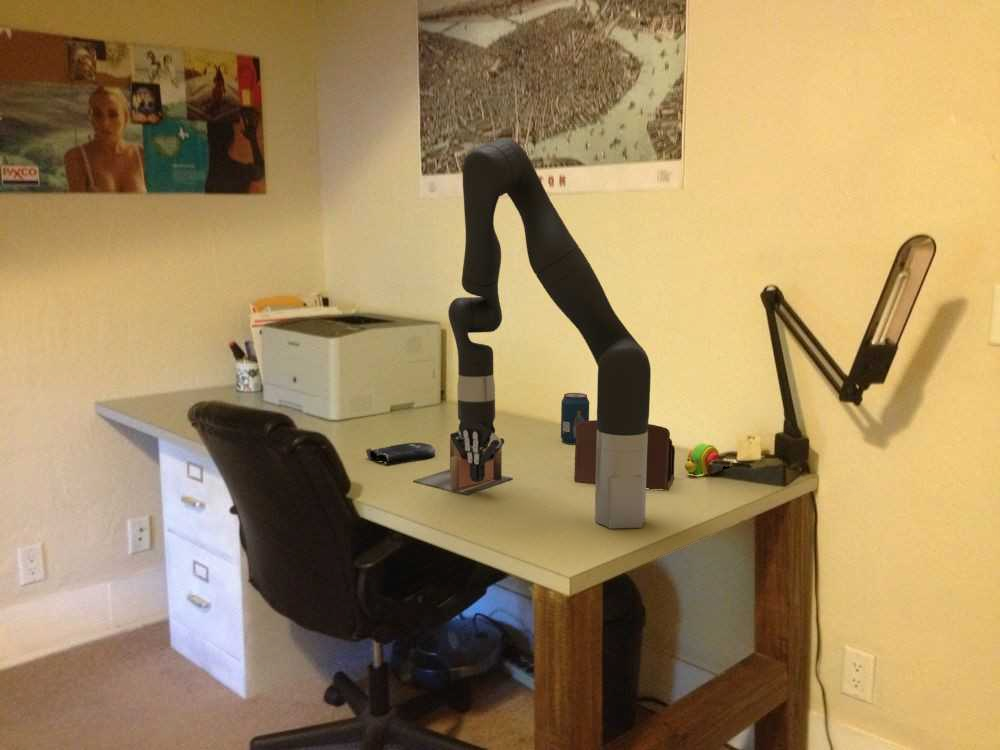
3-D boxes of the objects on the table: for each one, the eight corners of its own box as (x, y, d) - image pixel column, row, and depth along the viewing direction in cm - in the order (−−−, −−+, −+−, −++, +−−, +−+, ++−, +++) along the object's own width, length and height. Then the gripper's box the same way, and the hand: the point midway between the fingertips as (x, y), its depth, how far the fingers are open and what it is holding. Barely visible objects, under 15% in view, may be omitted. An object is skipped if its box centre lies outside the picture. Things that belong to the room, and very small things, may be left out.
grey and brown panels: (512, 479, 195) (513, 445, 194) (466, 495, 184) (466, 459, 183) (458, 466, 205) (458, 434, 204) (411, 481, 193) (411, 447, 192)
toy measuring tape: (674, 475, 200) (675, 446, 198) (728, 460, 212) (729, 433, 211) (698, 481, 195) (699, 451, 194) (751, 466, 207) (753, 437, 206)
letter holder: (667, 492, 187) (669, 425, 185) (573, 482, 194) (574, 418, 191) (674, 479, 197) (676, 415, 194) (584, 470, 203) (585, 408, 201)
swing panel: (488, 476, 194) (488, 447, 193) (494, 478, 193) (494, 448, 192) (449, 487, 186) (449, 457, 185) (454, 489, 185) (454, 458, 184)
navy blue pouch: (390, 474, 205) (443, 455, 214) (385, 451, 204) (438, 432, 213) (368, 471, 212) (421, 452, 221) (363, 448, 211) (416, 430, 220)
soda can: (573, 437, 234) (574, 391, 232) (594, 441, 229) (595, 394, 227) (555, 441, 229) (555, 394, 227) (576, 446, 224) (577, 398, 222)
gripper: (513, 397, 182) (514, 482, 184) (463, 391, 190) (465, 472, 192) (489, 403, 176) (490, 490, 178) (439, 396, 184) (440, 479, 187)
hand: (477, 480), depth 185 cm, fingers closed
